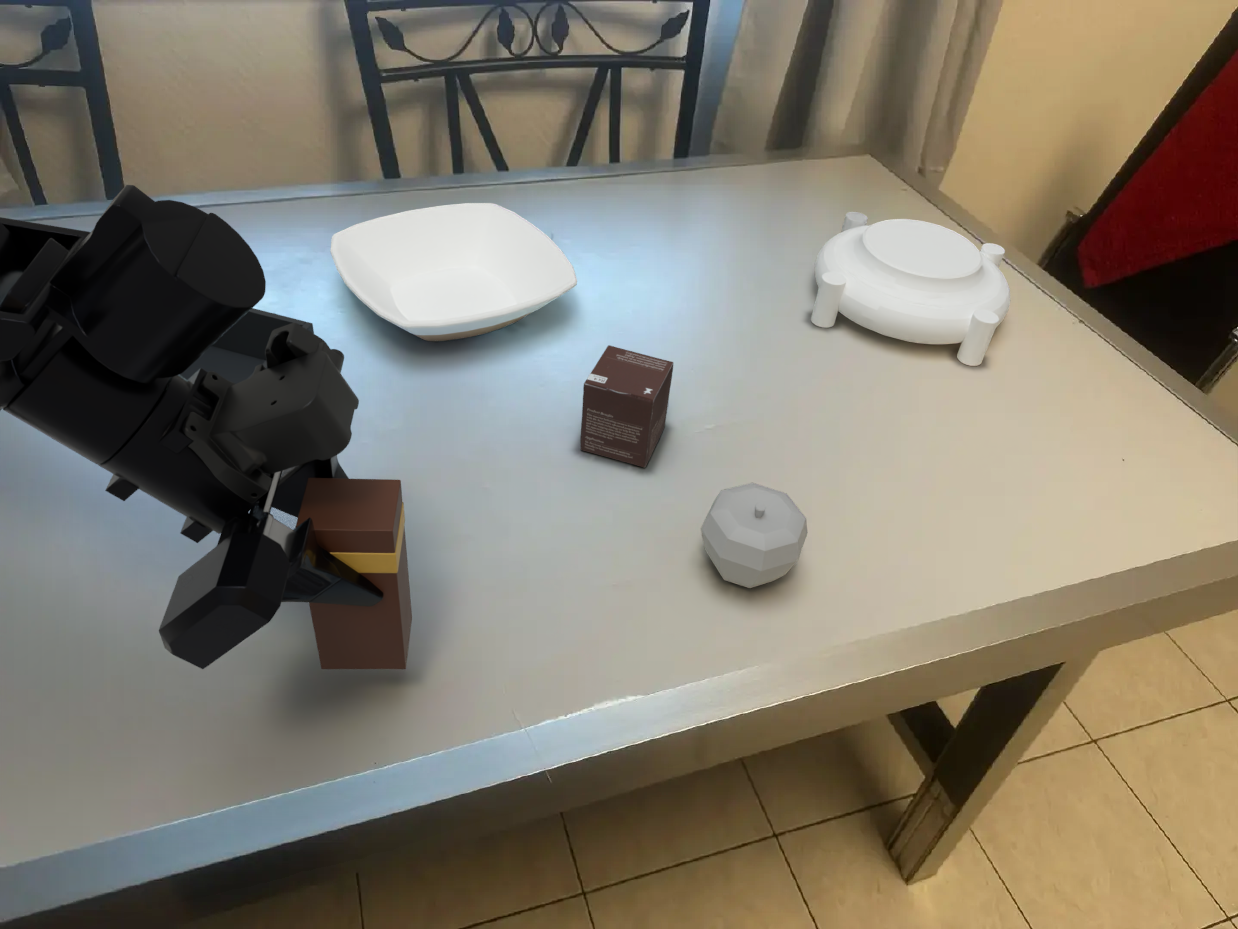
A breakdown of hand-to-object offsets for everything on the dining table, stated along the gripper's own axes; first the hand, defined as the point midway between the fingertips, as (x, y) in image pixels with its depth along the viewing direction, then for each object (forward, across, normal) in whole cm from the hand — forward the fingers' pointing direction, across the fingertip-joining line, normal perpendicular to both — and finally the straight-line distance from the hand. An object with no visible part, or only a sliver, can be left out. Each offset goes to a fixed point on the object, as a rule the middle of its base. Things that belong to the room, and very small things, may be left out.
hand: (383, 571), depth 55 cm
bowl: (+8, +46, +7) cm, 47 cm away
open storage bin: (-5, +30, +20) cm, 36 cm away
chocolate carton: (+4, 0, +6) cm, 7 cm away
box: (+20, +25, -4) cm, 32 cm away
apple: (+25, +10, -10) cm, 29 cm away
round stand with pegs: (+42, +49, -27) cm, 71 cm away
